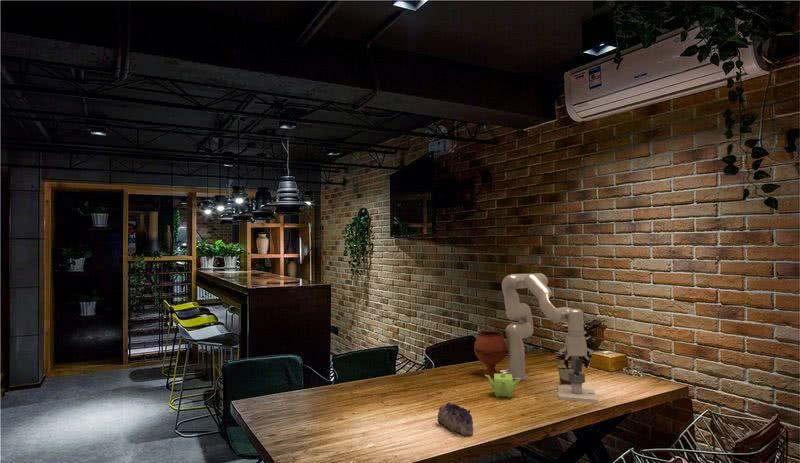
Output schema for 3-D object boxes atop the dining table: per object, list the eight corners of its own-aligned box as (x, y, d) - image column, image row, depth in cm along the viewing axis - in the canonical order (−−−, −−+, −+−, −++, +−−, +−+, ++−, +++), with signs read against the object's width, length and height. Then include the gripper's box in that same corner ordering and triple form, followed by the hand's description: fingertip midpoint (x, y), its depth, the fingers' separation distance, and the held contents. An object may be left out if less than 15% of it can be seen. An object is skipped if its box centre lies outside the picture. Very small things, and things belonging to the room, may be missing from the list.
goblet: (468, 372, 280) (467, 331, 280) (494, 368, 288) (493, 328, 289) (486, 380, 262) (486, 336, 263) (514, 376, 270) (513, 333, 271)
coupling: (587, 383, 231) (586, 359, 232) (570, 383, 232) (570, 359, 232) (581, 378, 241) (581, 355, 241) (565, 377, 241) (565, 355, 242)
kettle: (504, 402, 226) (503, 379, 226) (483, 394, 238) (482, 372, 238) (524, 396, 235) (523, 374, 235) (502, 389, 246) (502, 368, 247)
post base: (558, 399, 230) (558, 385, 230) (557, 388, 247) (557, 375, 247) (597, 402, 224) (597, 388, 224) (594, 391, 241) (593, 378, 241)
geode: (484, 433, 189) (482, 409, 188) (461, 443, 184) (459, 418, 183) (456, 415, 207) (454, 394, 206) (434, 423, 201) (432, 401, 201)
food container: (577, 382, 259) (577, 364, 259) (580, 385, 253) (580, 366, 253) (555, 381, 260) (554, 363, 260) (557, 384, 254) (557, 366, 254)
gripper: (590, 332, 240) (590, 365, 239) (556, 332, 241) (557, 365, 240) (595, 335, 232) (596, 369, 232) (560, 334, 233) (561, 369, 232)
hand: (576, 367), depth 236 cm, fingers open, 9 cm apart
